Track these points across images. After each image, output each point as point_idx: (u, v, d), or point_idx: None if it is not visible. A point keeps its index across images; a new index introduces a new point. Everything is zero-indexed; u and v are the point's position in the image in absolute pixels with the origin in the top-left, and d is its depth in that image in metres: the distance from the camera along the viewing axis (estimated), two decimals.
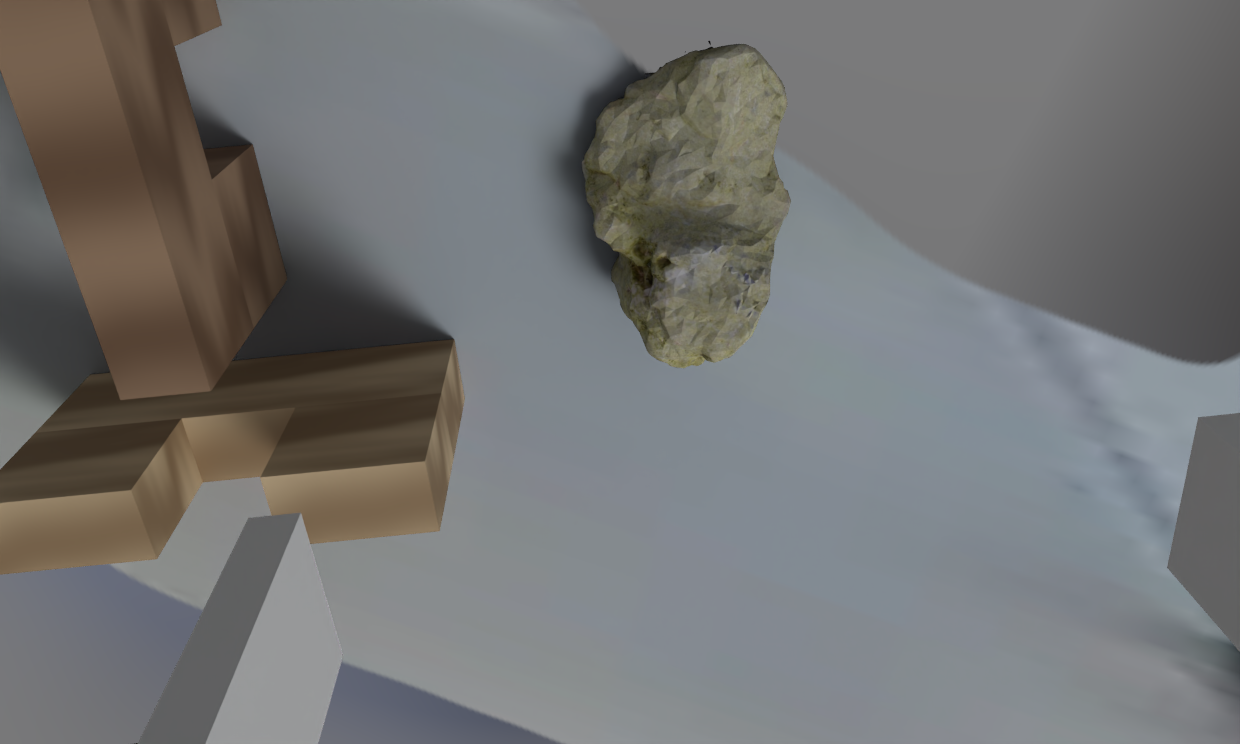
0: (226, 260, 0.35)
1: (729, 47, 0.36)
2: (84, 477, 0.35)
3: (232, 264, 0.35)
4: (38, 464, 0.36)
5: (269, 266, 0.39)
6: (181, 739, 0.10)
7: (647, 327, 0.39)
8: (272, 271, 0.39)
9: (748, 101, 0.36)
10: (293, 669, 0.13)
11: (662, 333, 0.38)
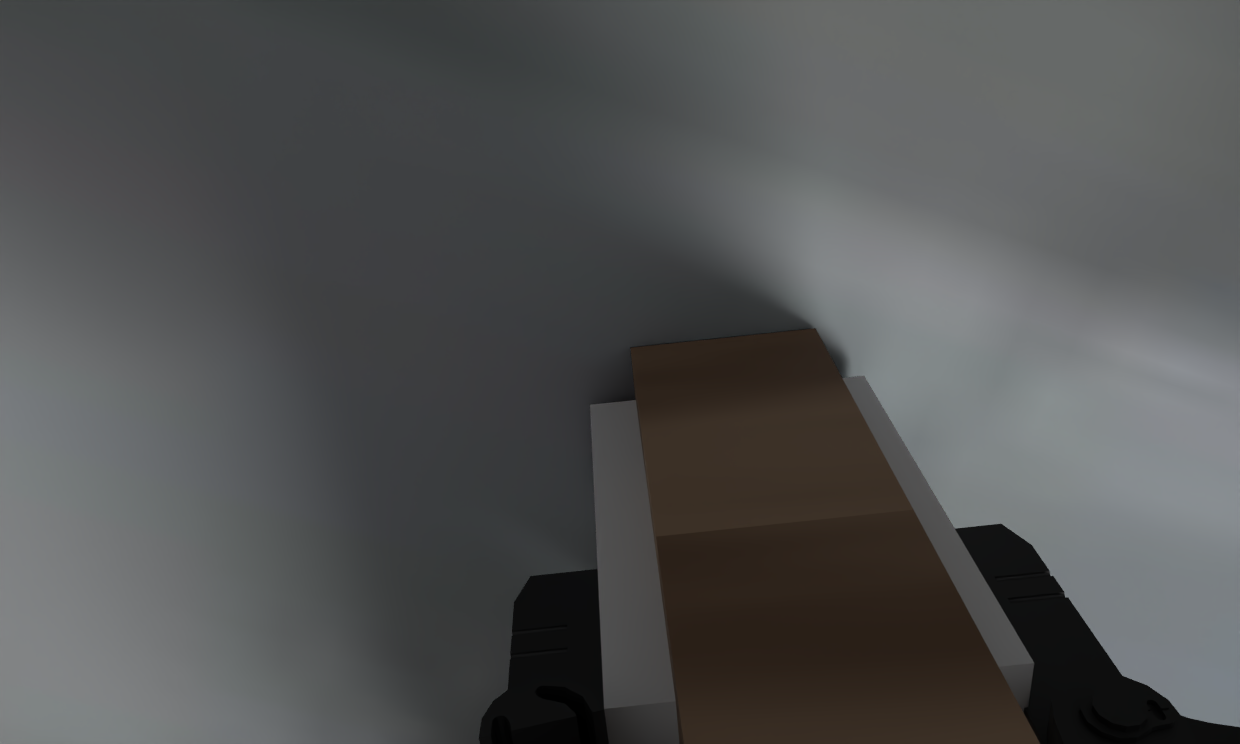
0: None
1: None
2: None
3: None
4: None
5: None
6: (632, 557, 0.12)
7: None
8: None
9: None
10: None
11: None
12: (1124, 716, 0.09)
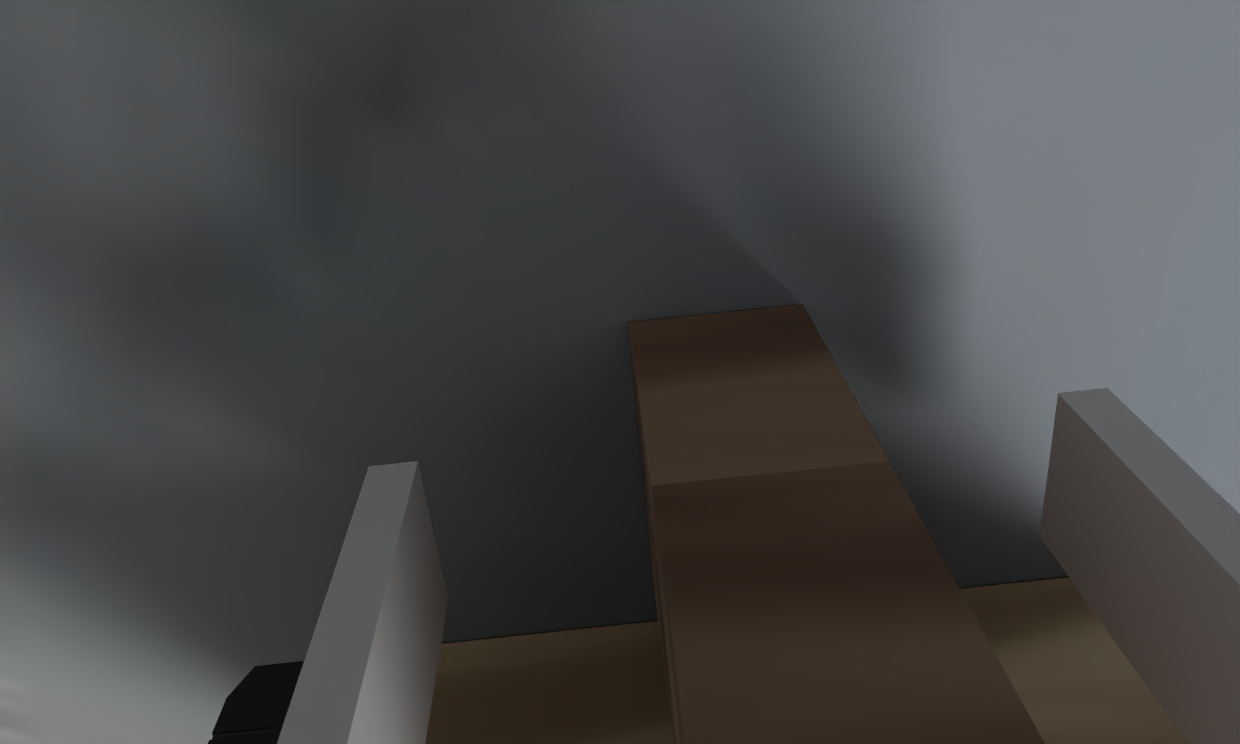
0: None
1: None
2: None
3: None
4: None
5: None
6: (345, 652, 0.11)
7: None
8: None
9: None
10: (418, 603, 0.14)
11: None
12: None
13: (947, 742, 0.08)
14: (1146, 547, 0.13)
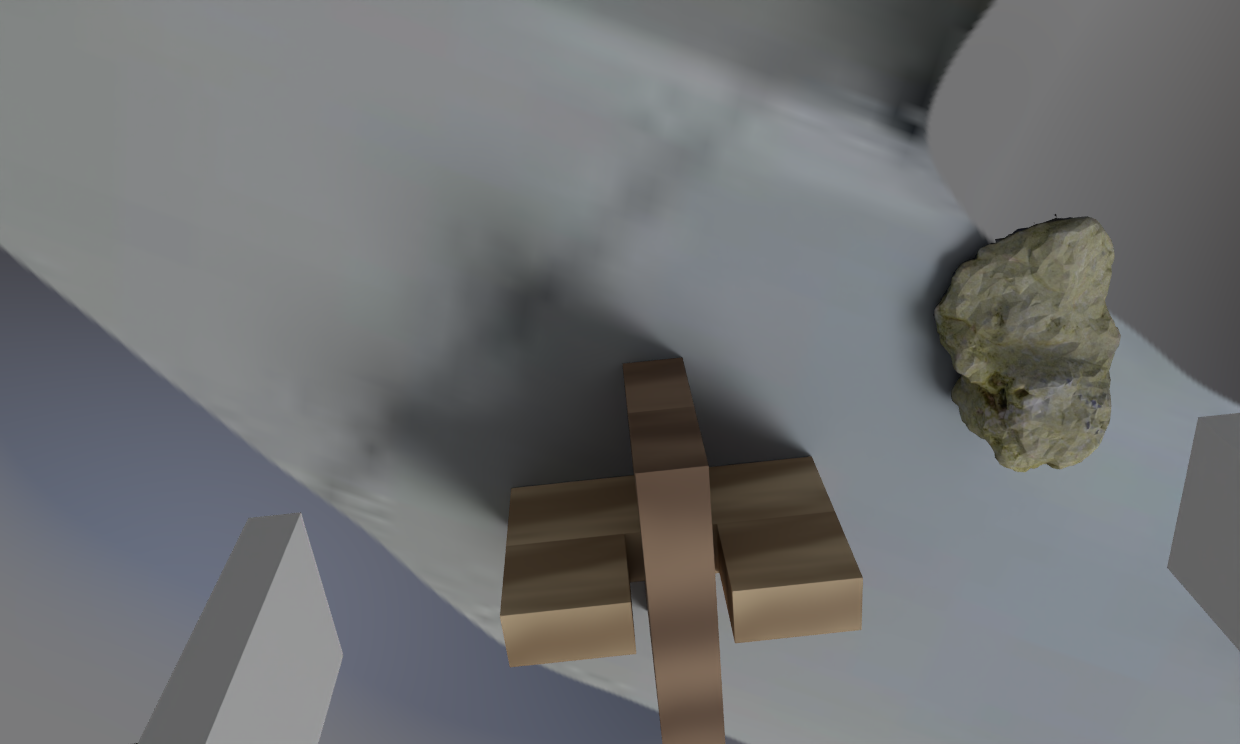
0: None
1: (1078, 221, 0.44)
2: (581, 589, 0.44)
3: None
4: (532, 576, 0.45)
5: None
6: (181, 739, 0.10)
7: (1001, 443, 0.47)
8: None
9: (1090, 261, 0.45)
10: (293, 669, 0.13)
11: (1018, 448, 0.46)
12: None
13: (687, 459, 0.40)
14: None
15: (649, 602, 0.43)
